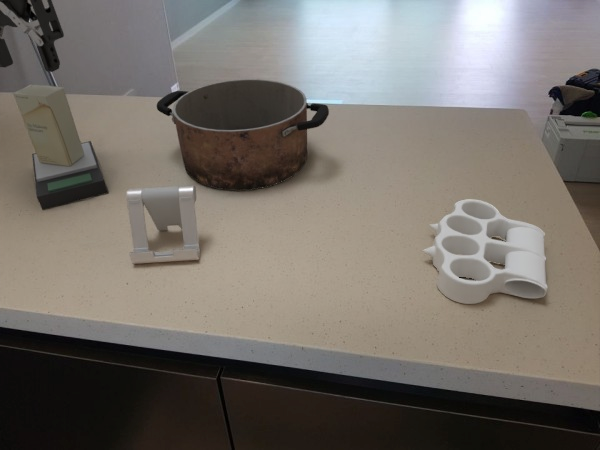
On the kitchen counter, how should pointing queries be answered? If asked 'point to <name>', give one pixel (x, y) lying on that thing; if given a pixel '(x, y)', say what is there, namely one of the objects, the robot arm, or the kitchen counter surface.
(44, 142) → the cosmetic box
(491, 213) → the white brass knuckles
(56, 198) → the scale
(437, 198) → the kitchen counter surface
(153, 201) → the tablet stand
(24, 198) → the kitchen counter surface
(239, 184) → the cooking pot
